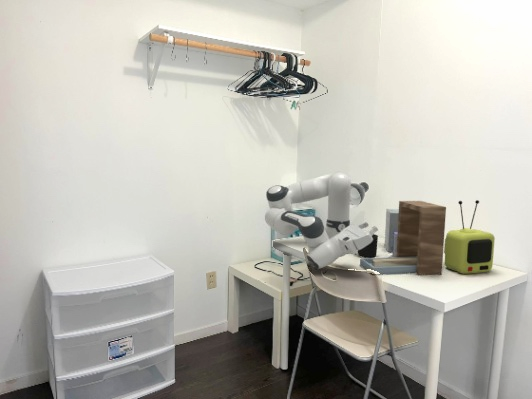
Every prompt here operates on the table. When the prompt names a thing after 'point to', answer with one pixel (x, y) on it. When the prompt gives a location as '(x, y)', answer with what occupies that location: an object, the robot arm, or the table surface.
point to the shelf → (422, 235)
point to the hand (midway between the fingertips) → (371, 225)
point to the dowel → (394, 262)
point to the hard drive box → (391, 227)
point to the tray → (367, 264)
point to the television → (469, 249)
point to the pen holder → (369, 248)
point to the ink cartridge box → (394, 244)
